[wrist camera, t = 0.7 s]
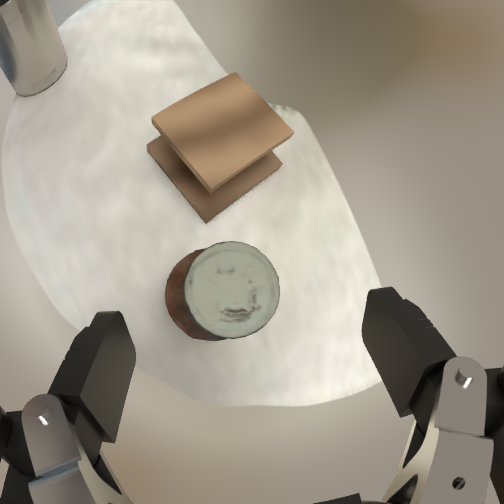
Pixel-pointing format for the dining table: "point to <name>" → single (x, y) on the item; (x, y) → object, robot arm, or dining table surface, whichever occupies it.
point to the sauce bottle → (222, 292)
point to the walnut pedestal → (218, 143)
